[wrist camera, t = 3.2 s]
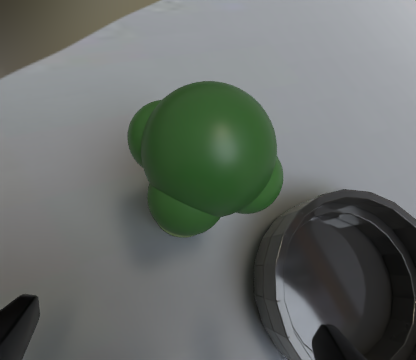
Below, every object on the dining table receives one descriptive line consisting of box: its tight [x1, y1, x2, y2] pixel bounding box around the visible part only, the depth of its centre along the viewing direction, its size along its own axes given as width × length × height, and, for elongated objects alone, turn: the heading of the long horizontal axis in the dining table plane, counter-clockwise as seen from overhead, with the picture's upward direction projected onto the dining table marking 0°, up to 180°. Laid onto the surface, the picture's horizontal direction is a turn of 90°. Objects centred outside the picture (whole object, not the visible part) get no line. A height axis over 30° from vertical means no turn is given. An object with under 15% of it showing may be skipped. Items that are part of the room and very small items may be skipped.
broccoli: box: [128, 81, 283, 237], centre depth 15 cm, size 7×7×14 cm
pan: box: [254, 189, 416, 360], centre depth 20 cm, size 13×13×4 cm
